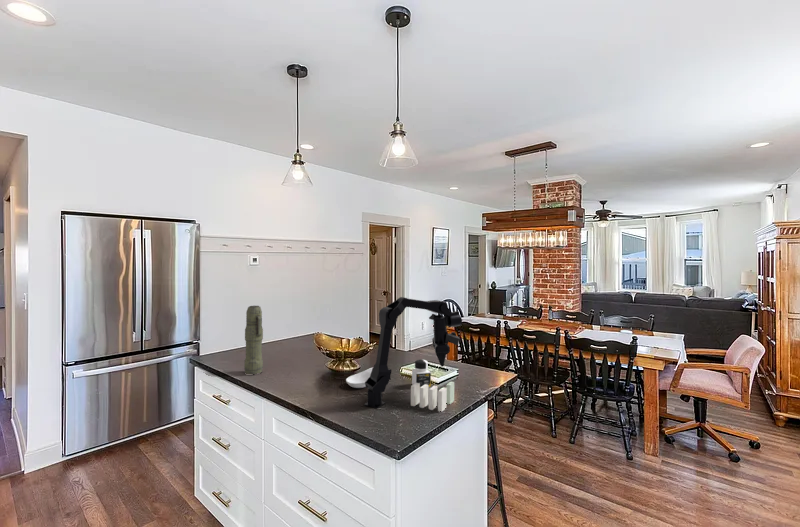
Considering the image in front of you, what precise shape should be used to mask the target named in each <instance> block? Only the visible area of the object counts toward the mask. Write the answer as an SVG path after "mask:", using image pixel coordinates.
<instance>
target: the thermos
mask: <svg viewBox="0 0 800 527" xmlns="http://www.w3.org/2000/svg"><path fill="white" fill-rule="evenodd" d="M245 314H246V316H245V317H246V321H245V322H246V323H245V324H246V326H245V329H244V340H245V358H244V366H243V367H244V374H245V373H246V374H257V373H261V372H262V373H263V367H264V364H263V363H264V362H263V355H262V353H263V350H262V349H263V344H262V343H263V339H264V338H263V337H264V328H263V318H262V317H263V316H262V315H263V311H262V308H261V306H260V305H250V306H248V307H247V310H246V313H245ZM262 373H261V374H262Z"/></svg>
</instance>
